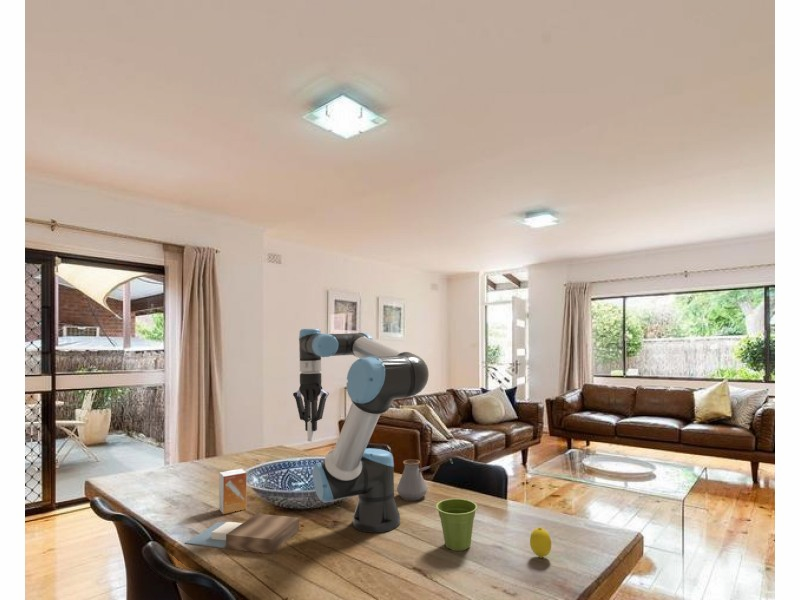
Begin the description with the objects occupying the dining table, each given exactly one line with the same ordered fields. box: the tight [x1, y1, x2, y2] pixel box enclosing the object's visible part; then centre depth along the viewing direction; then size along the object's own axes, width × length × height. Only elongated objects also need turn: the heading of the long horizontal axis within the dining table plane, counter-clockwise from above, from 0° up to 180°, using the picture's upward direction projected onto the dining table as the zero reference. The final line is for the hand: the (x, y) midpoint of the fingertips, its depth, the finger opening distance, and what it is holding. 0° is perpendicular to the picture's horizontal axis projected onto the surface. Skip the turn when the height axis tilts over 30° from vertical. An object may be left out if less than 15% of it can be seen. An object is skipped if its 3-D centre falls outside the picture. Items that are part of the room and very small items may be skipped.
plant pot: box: [435, 498, 478, 552], centre depth 137 cm, size 12×12×11 cm
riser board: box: [225, 513, 300, 555], centre depth 144 cm, size 15×16×4 cm
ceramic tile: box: [211, 521, 243, 540], centre depth 147 cm, size 8×8×2 cm
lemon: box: [529, 526, 552, 559], centre depth 129 cm, size 6×6×8 cm
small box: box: [218, 468, 247, 515], centre depth 169 cm, size 8×6×13 cm
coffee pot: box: [396, 457, 454, 501], centre depth 177 cm, size 21×12×15 cm, turn 73°
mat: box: [184, 521, 227, 549], centre depth 148 cm, size 14×16×1 cm
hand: (311, 440), depth 166 cm, fingers closed
